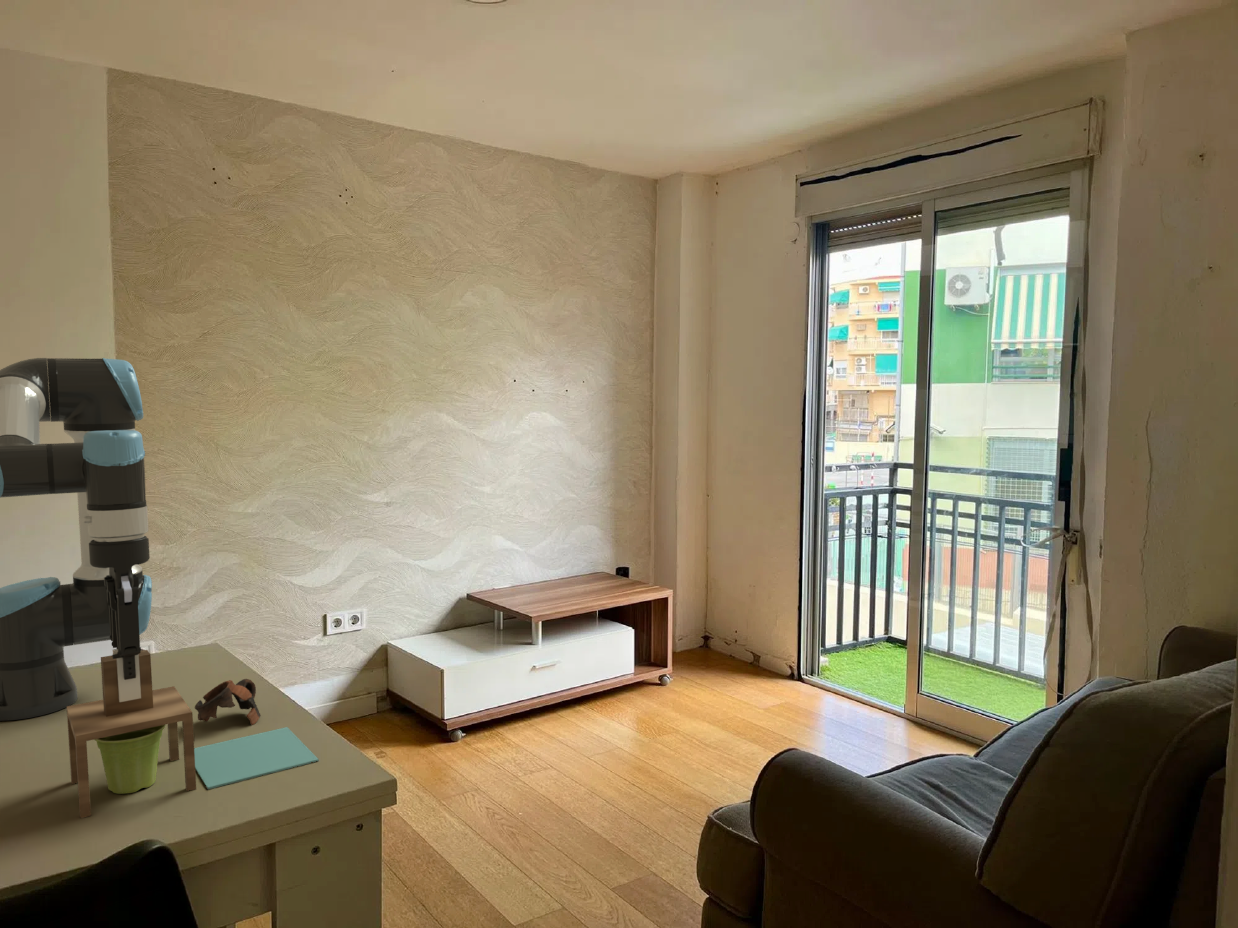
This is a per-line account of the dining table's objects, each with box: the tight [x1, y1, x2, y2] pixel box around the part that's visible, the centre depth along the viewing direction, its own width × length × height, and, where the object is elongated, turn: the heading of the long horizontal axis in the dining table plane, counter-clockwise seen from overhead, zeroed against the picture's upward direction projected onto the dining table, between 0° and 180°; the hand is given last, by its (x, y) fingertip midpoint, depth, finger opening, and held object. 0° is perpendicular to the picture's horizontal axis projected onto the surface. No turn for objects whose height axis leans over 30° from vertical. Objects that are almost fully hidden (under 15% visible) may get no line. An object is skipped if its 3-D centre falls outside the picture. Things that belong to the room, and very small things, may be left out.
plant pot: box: [94, 724, 167, 795], centre depth 128 cm, size 9×9×9 cm
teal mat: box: [194, 726, 319, 790], centre depth 138 cm, size 17×16×1 cm
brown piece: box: [66, 649, 197, 819], centre depth 127 cm, size 14×14×20 cm
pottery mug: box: [194, 678, 261, 726], centre depth 154 cm, size 12×10×8 cm
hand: (127, 694), depth 127 cm, fingers open, 4 cm apart
